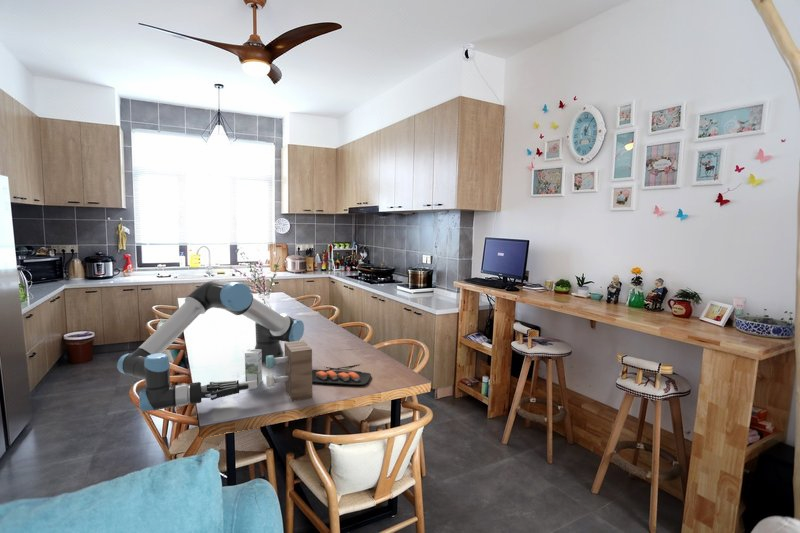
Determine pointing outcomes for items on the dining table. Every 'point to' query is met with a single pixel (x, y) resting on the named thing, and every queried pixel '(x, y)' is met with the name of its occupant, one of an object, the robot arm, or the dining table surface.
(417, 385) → the dining table surface
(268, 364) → the teal knob
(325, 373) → the sushi plate
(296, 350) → the block
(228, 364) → the dining table surface
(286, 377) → the cream knob
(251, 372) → the syrup box
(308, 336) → the dining table surface
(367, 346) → the dining table surface
